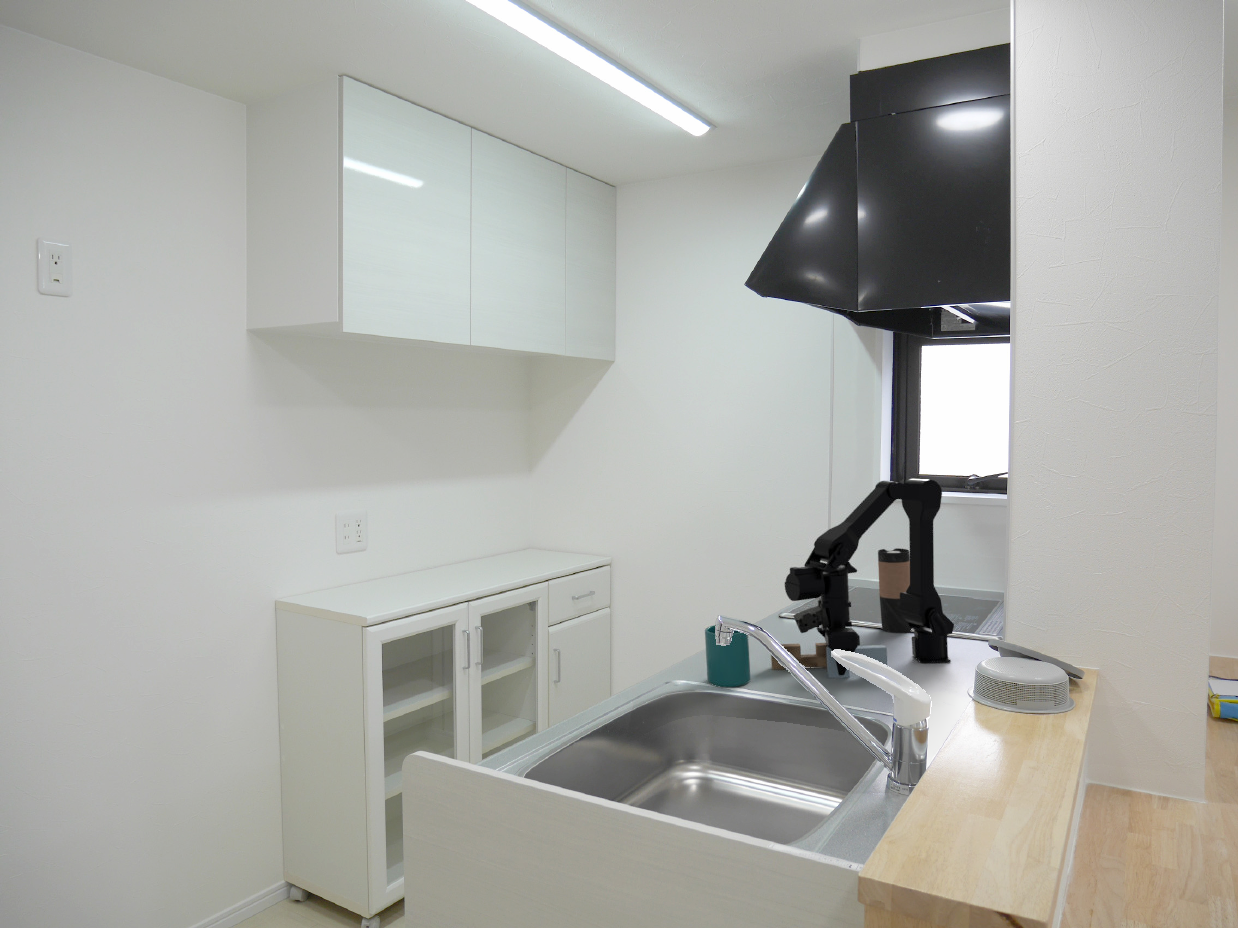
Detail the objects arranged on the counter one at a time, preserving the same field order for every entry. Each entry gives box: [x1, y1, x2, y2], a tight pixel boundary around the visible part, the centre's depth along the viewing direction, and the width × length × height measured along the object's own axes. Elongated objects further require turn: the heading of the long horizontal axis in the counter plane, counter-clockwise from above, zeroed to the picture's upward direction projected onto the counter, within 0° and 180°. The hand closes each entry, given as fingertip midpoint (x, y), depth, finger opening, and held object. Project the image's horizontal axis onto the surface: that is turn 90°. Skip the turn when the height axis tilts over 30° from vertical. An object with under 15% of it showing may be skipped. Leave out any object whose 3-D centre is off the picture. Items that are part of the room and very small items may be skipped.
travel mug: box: [877, 547, 912, 634], centre depth 206 cm, size 8×8×20 cm
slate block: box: [826, 644, 888, 679], centre depth 172 cm, size 12×2×6 cm, turn 85°
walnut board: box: [770, 642, 827, 671], centre depth 180 cm, size 16×2×5 cm, turn 85°
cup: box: [704, 624, 751, 688], centre depth 174 cm, size 9×12×11 cm
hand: (837, 668), depth 172 cm, fingers open, 8 cm apart
